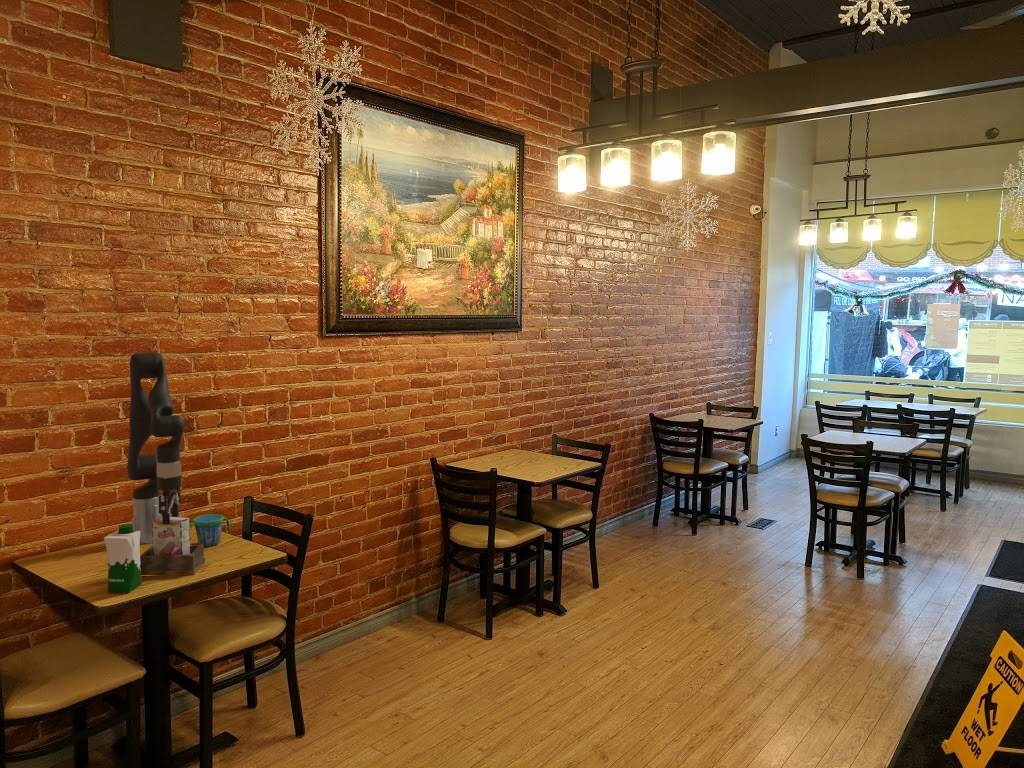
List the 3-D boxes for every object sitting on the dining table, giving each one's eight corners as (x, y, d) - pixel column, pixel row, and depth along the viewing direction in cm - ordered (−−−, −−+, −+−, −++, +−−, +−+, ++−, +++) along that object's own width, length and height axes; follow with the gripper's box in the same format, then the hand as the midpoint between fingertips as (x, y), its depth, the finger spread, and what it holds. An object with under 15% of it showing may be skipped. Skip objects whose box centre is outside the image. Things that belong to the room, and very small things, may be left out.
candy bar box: (152, 566, 248) (150, 519, 246) (162, 561, 253) (160, 515, 251) (182, 568, 246) (181, 521, 245) (191, 563, 251) (189, 517, 250)
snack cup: (191, 551, 268) (190, 524, 267) (184, 544, 276) (183, 518, 275) (234, 543, 277) (233, 517, 276) (226, 536, 286) (225, 511, 285)
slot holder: (138, 576, 243) (137, 557, 242) (151, 563, 255) (151, 545, 254) (194, 574, 245) (193, 555, 244) (205, 562, 257) (204, 544, 256)
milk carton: (145, 583, 237) (143, 524, 234) (129, 594, 228) (127, 532, 225) (119, 583, 237) (116, 523, 235) (102, 594, 228) (99, 531, 226)
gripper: (165, 469, 253) (166, 514, 255) (149, 479, 239) (151, 527, 241) (187, 469, 254) (189, 514, 256) (173, 479, 240) (175, 526, 242)
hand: (170, 520), depth 248 cm, fingers open, 8 cm apart
